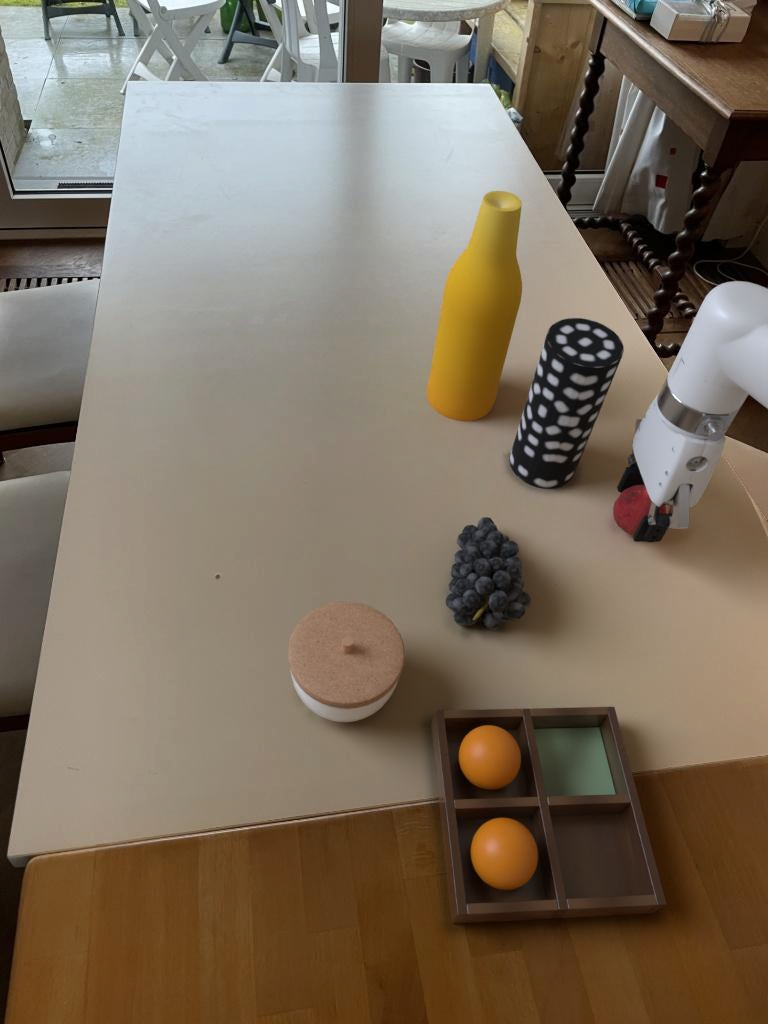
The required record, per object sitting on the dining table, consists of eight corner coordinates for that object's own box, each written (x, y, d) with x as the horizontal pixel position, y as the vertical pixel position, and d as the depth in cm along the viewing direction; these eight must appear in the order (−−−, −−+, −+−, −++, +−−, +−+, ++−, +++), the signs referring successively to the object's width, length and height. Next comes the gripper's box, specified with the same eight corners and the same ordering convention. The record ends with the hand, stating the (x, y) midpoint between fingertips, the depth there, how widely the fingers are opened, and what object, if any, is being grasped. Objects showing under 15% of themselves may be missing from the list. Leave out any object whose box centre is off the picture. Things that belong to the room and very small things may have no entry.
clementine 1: (508, 739, 75) (521, 714, 71) (518, 797, 72) (532, 775, 67) (450, 740, 75) (460, 715, 70) (458, 799, 71) (468, 777, 67)
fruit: (477, 478, 85) (472, 591, 75) (543, 504, 87) (546, 617, 77) (441, 522, 91) (432, 632, 81) (503, 546, 93) (502, 656, 83)
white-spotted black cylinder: (543, 502, 96) (590, 378, 80) (494, 462, 99) (531, 335, 84) (586, 472, 100) (639, 348, 84) (538, 434, 103) (580, 308, 88)
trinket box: (318, 625, 82) (320, 575, 75) (412, 665, 80) (424, 617, 73) (269, 712, 76) (266, 666, 68) (371, 757, 74) (379, 714, 66)
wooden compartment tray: (602, 723, 78) (614, 706, 75) (650, 915, 67) (666, 904, 64) (429, 727, 76) (435, 710, 73) (450, 925, 65) (457, 914, 62)
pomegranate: (605, 544, 92) (627, 501, 86) (605, 507, 96) (626, 463, 90) (654, 553, 92) (680, 510, 86) (652, 516, 96) (676, 472, 90)
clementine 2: (523, 828, 70) (538, 807, 66) (534, 896, 67) (551, 878, 62) (461, 830, 69) (472, 809, 65) (470, 899, 66) (482, 881, 62)
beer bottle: (441, 369, 110) (478, 170, 87) (503, 393, 108) (556, 195, 85) (414, 409, 104) (446, 206, 82) (478, 434, 102) (528, 234, 80)
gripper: (764, 467, 73) (690, 575, 87) (705, 347, 84) (647, 460, 98) (688, 466, 72) (625, 576, 86) (638, 345, 83) (589, 460, 97)
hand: (637, 513), depth 92 cm, fingers open, 6 cm apart
